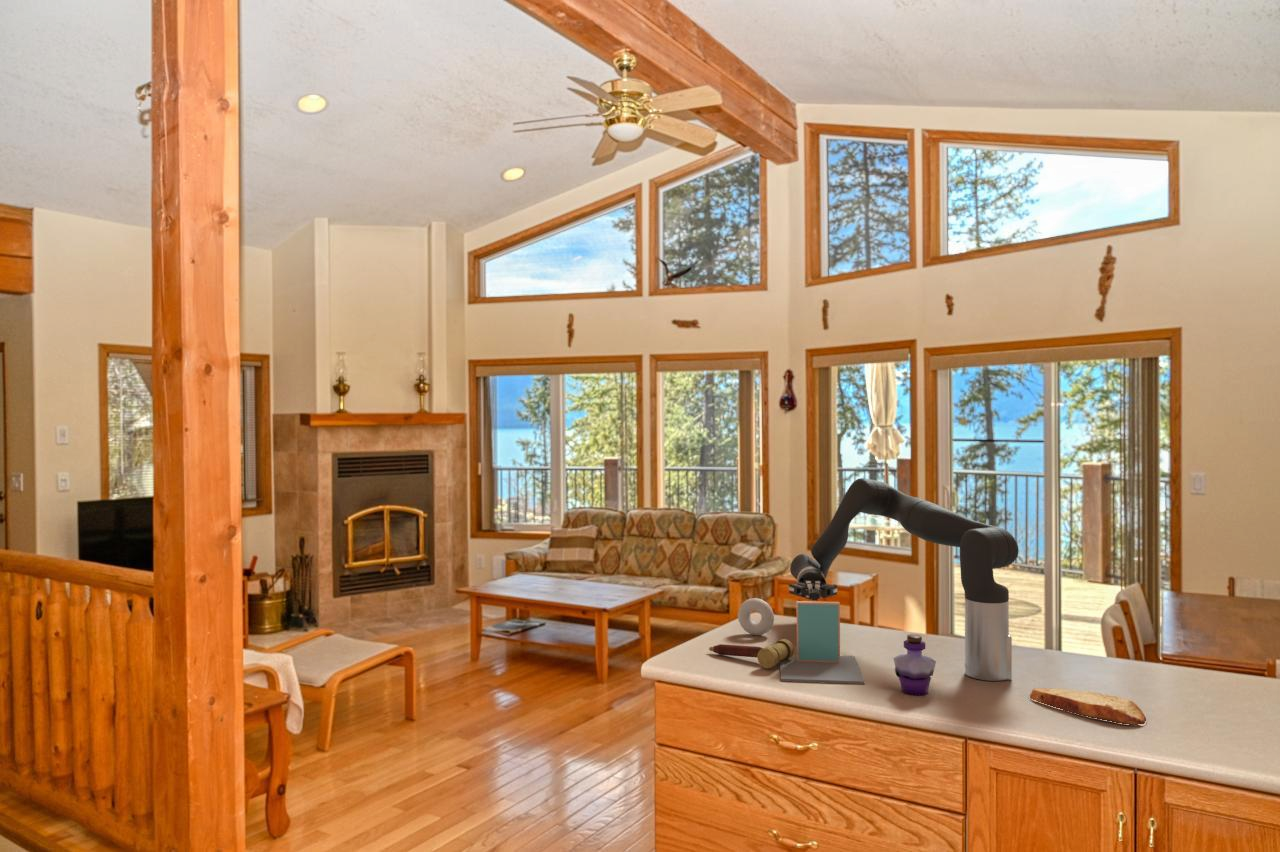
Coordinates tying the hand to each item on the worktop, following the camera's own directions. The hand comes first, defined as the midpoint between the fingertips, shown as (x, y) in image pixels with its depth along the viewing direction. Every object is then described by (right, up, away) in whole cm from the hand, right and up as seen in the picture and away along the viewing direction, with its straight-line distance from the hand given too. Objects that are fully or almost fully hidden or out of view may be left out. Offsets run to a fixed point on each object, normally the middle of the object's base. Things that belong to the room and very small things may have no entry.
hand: (814, 596), depth 215 cm
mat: (-2, -14, -16) cm, 21 cm away
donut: (-13, -14, +16) cm, 24 cm away
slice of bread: (+45, -14, -44) cm, 65 cm away
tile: (-1, -13, -11) cm, 17 cm away
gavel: (-18, -14, -8) cm, 24 cm away
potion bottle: (+15, -14, -33) cm, 38 cm away
